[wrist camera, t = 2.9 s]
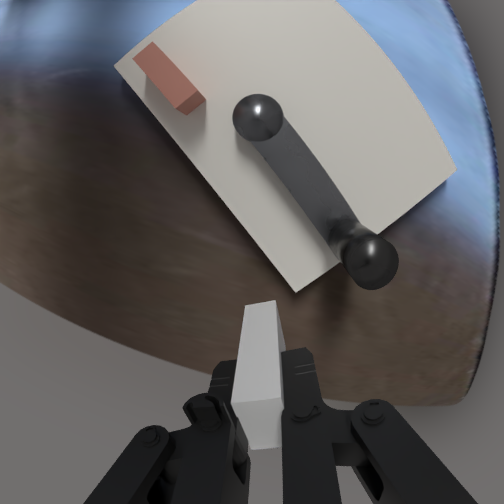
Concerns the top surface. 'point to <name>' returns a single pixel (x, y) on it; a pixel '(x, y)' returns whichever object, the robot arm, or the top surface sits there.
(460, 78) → the top surface
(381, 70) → the board
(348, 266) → the swing bar
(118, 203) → the top surface
